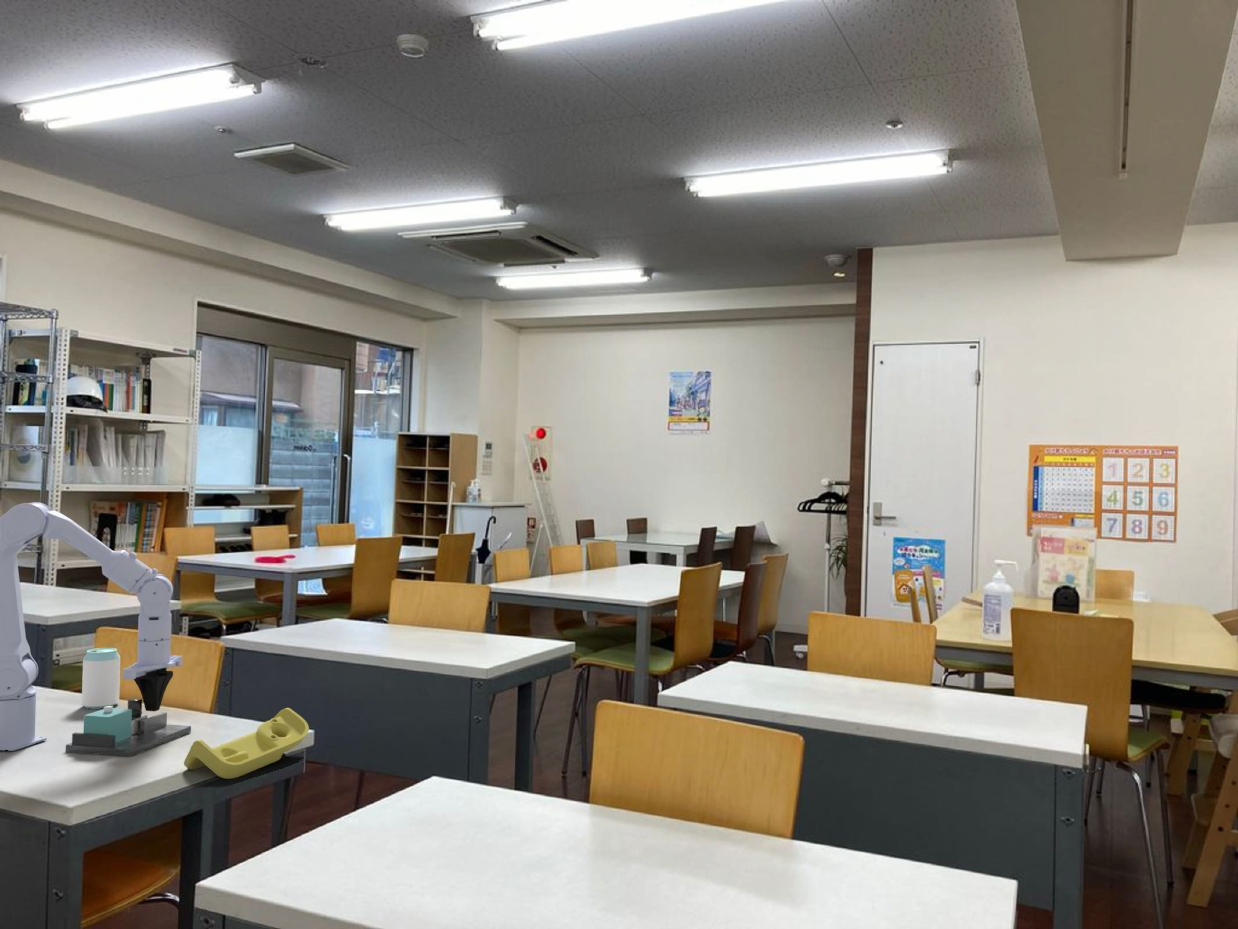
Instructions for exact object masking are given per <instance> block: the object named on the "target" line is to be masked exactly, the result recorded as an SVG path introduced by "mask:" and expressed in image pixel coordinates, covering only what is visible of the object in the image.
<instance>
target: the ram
mask: <svg viewBox="0 0 1238 929" xmlns="http://www.w3.org/2000/svg"><path fill="white" fill-rule="evenodd" d="M127 709H132V720H131V735H133V734H135V733H138V732H140V725H141V720H143V719H146V718H149V717H148V716H149V715H148V714H143V710H142V709H143V698H130V699H128V700H127Z"/></svg>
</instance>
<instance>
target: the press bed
mask: <svg viewBox="0 0 1238 929" xmlns="http://www.w3.org/2000/svg"><path fill="white" fill-rule="evenodd" d="M167 719H168V713H167V712H161V713H158V714H155V715H152V716H149V717H147V718H146V719H143V720H141V725H140V732H138V733H135V734H133V735H131V737H129V738H126V739H124V740H121V741H118V742H116V743H115V735H104V734H90V733H84V732H78V731H77V732H74V733H71V742H70V743H68V744H65V752H66V753H67V752H68V753H80V754H89V755H90V754H92V755H103V756H115V757H116V756H117V757H133V756H136V755H138V754H140V753H144V752H145V751H148V750H150V749H153V748H155V746H156V747H158V746H160V745H163V744H165V742H166V743H168V742H170V740H171V741H173V740H175V738H176V739H178V738H180V737H183V736H185V735H188V734H190V733H192V725H180V724H170V723H169V724H168V722H167ZM189 732H190V733H189ZM182 735H183V736H182ZM179 736H180V737H179ZM172 739H173V740H172ZM162 743H163V744H162ZM152 747H153V748H152Z"/></svg>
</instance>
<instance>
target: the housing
mask: <svg viewBox="0 0 1238 929" xmlns="http://www.w3.org/2000/svg"><path fill="white" fill-rule="evenodd" d="M131 720H132V709H128V708H117V707H116V708H115V707H114V706H105V707H104V708H103V709H98V710H97V711H94V712H91V713H87V714H85V715H83V733H90V734H104V735H115V743H116V742H118V741H121V740H124V739H126V738H129V737H131Z"/></svg>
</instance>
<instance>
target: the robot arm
mask: <svg viewBox="0 0 1238 929" xmlns="http://www.w3.org/2000/svg"><path fill="white" fill-rule="evenodd" d="M41 536H42V539H52V540H59V541H63V542H65V543H66V544H68V545H70V546H71V547H73V548H75V549H77V550H78V551H79V552H81V553H83V554H84V555H85V556H88V557H89V558H90V559H92V560H93V561H95V562H96V563H98V564H100V566H101V573H102V575H103V576H105V578H107V579H109V580H111V581H112V582H113V583H115V584H116V585H118V586H119V587H120V588H122V589H123V590H125V591H126V592H128V593H129V594H131V595H132V594H135V595H136V597H137V601H138V602H139V615H138V620H137V621H138V625H137V627H138V628H137V661H136V662H135V663H134V664H131V665H130V666H127V667H126V668H123V669H122V671H123V672H122V679H123V680H129V681H130V680H131V681H134V682H135V684H136V686H137V687H138V690H139V691H140V694H141V699H142V702H143V704H144V708H145V709H144V710H145V712H157V711H159V710H160V709H161V705H162V701H163V699H164V695H165V692H166V690H167V687H168V685H169V683H170V681H171V680H172V678H173V676H174V671H173V670H167V669H170V668H175V667H181V666H183V655H174V654H173V655H171V653H172V652H171V650H172V649H171V646H172V613H171V611H172V604H171V600H172V596H173V593H174V586H173V583H172V582H171V580H170V579H169V578H167V576H166V575H165V574H161V573H158V572H159V570H158V568H156V567H153V569H152V568H151V567H149V566H148V565H146V564H145V563H144V562H143V561H140V560H139V559H138V558H137V557H138V554H137V553H136V552H134V551H130V552H128V551H126V550H124V549H122V550H112V549H111V548H110V547H108V546H107V545H106V544H104V543H103V542H102V541H100V540H99V539H98V538H97V537H95V536H94V535H92V534H91V532H88V531H87V530H86V529H84V528H83V527H82V526H81V525H79V524H78V523H77V522H75V521H74V520H73V519H71V518H69V517H68V516H66V515H65V514H63V513H61V512H59V511H57V510H52V509H51V507H49V506H48V505H47V504H45V503H42V502H36V501H35V502H29V503H28V502H24V503H19V504H16V505H14V506H13V507H11V508H10V509H9V510H8V511H6V512H5V513H4V514H3V515H1V516H0V751H5V750H8V751H9V752H15V751H17V750H20V749H23V748H27V747H29V746H32V745H35V744H38V743H41V742H44V741H46V740H47V737H46V736H36V715H37V714H36V713H37V712H36V711H37V710H36V709H37V690H36V689H35V688H34V687H33V685H32V684H33V683H34V682H35V681H36V679H37V678H38V674H39V666H38V663H37V662H36V660H35V659H34V658H33V655H32V654H31V648H30V645H29V643H28V642H29V641H28V640H27V637H26V627H25V617H24V610H23V602H22V592H21V583H20V574H19V566H18V564H19V563H18V558H17V557H18V554H19V553H21V551H22V550H24V548H25V547H27V546H28V545H29V544H30V543H31V542H32V541H33V540H35V539H37V538H39V537H41Z"/></svg>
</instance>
